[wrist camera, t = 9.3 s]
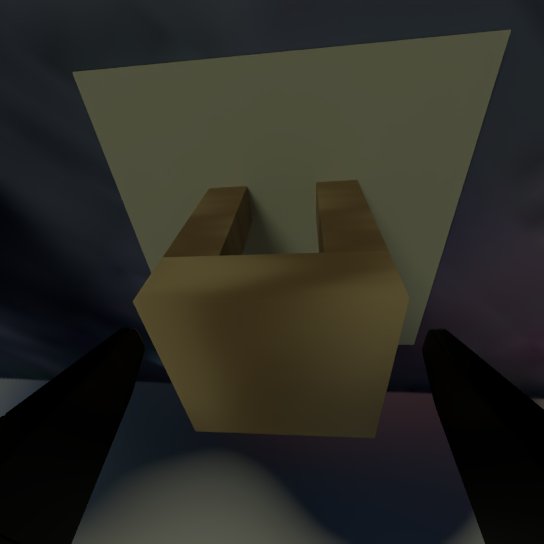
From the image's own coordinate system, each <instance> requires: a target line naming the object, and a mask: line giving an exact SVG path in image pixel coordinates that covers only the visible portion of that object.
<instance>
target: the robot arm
mask: <svg viewBox="0 0 544 544" xmlns="http://www.w3.org/2000/svg"><path fill="white" fill-rule="evenodd" d="M144 351H145V346H144V342H143V340H142V338H141V336H140V334H139V332H138V330H137V329H136V328H121V329H120V330H118V331H117V332H116V333H114V334H113V335H112V336H110V337H109V338H107V339H106V340H105V341H103V342H102V343H101V344H99V345H98V346H97V347H95V348H94V349H93V350H91V351H90V352H88V353H87V354H86V355H84V356H83V357H82V358H80V359H79V360H78V361H76V362H75V363H74V364H72V365H71V366H70V367H68V368H67V369H65V370H64V371H63V372H61V373H60V374H59V375H57V376H56V377H55V378H53V379H52V380H51V381H49V382H48V383H47V384H45V385H44V386H42V387H41V388H40V389H38V390H37V391H36V392H34V393H33V394H32V395H30V396H29V397H27V398H26V399H25V400H24V401H22V402H21V403H19V404H18V405H17V406H15V407H14V408H13V409H11V410H10V411H9V412H7V413H6V414H5V416H2V417H0V544H72V541H73V539H74V536H75V534H76V531H77V529H78V526H79V524H80V521H81V519H82V516H83V514H84V511H85V509H86V507H87V504H88V501H89V499H90V497H91V494H92V492H93V489H94V487H95V484H96V482H97V479H98V477H99V474H100V472H101V470H102V467H103V464H104V462H105V459H106V457H107V455H108V452H109V450H110V447H111V445H112V442H113V440H114V438H115V435H116V433H117V430H118V428H119V425H120V423H121V420H122V418H123V415H124V413H125V410H126V408H127V405H128V403H129V400H130V397H131V395H132V392H133V389H134V385H135V382H136V379H137V375H138V372H139V368H140V365H141V361H142V358H143V354H144ZM422 353H423V358H424V362H425V366H426V370H427V375H428V379H429V383H430V387H431V391H432V395H433V399H434V402H435V406H436V409H437V412H438V415H439V418H440V421H441V423H442V426H443V429H444V432H445V434H446V437H447V440H448V443H449V445H450V448H451V451H452V454H453V456H454V459H455V462H456V465H457V467H458V470H459V473H460V475H461V478H462V481H463V484H464V487H465V489H466V492H467V495H468V498H469V500H470V503H471V506H472V509H473V511H474V514H475V517H476V519H477V522H478V525H479V528H480V530H481V533H482V536H483V539H484V542H485V544H544V409H542V408H541V407H540V406H539V405H538V404H536V403H535V402H534V401H533V400H531V399H530V398H529V397H528V396H527V395H525V394H524V393H523V392H522V391H520V390H519V389H518V388H517V387H516V386H514V385H513V384H512V383H511V382H510V381H508V380H507V379H506V378H505V377H503V376H502V375H501V374H500V373H499V372H497V371H496V370H495V369H494V368H492V367H491V366H490V365H489V364H488V363H486V362H485V361H484V360H483V359H481V358H480V357H479V356H478V355H477V354H475V353H474V352H473V351H472V350H471V349H469V348H468V347H467V346H466V345H464V344H463V343H462V342H461V341H460V340H458V339H457V338H456V337H455V336H453V335H452V334H451V333H450V332H449V331H447V330H446V329H429V330H428V332H427V335H426V338H425V341H424V344H423V348H422Z"/></svg>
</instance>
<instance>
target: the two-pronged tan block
mask: <svg viewBox="0 0 544 544" xmlns="http://www.w3.org/2000/svg"><path fill="white" fill-rule="evenodd" d="M251 223H252V218H251V211H250V204H249V197H248V189H247V186H239V187H222V188H209V189H208V191H207V192H206V194H205V195H204V197H203V198H202V200H201V201H200V203H199V204H198V205H197V207H196V208H195V210H194V211H193V213H192V214H191V216H190V217H189V219H188V220H187V222H186V223H185V225H184V226H183V228H182V229H181V231H180V232H179V234H178V235H177V237H176V238H175V240H174V241H173V242H172V244H171V245H170V247H169V248H168V250H167V251H166V253H165V254H164V256H163V257H162V259H161V260H160V262H159V263H158V265H157V266H156V268H155V269H154V271H153V272H152V274H151V275H150V277H149V278H148V279H147V281H146V282H145V284H144V285H143V287H142V288H141V290H140V291H139V293H138V294H137V296H136V297H135V299H134V300H133V303H134V305H135V307H136V309H137V311H138V313H139V315H140V318H141V320H142V322H143V324H144V326H145V328H146V330H147V332H148V334H149V336H150V338H151V340H152V342H153V344H154V346H155V349H156V351H157V353H158V355H159V357H160V359H161V361H162V363H163V365H164V367H165V369H166V371H167V373H168V375H169V377H170V380H171V382H172V384H173V386H174V388H175V390H176V392H177V394H178V396H179V398H180V400H181V402H182V404H183V406H184V409H185V411H186V413H187V415H188V417H189V419H190V421H191V423H192V425H193V427H194V429H195V431H204V432H232V433H255V434H281V435H307V436H332V437H360V438H375V436H376V431H377V427H378V423H379V419H380V415H381V411H382V407H383V403H384V399H385V395H386V391H387V387H388V383H389V379H390V375H391V371H392V367H393V363H394V359H395V355H396V351H397V347H398V343H399V339H400V335H401V331H402V327H403V323H404V318H405V314H406V310H407V306H408V302H409V295H408V293H407V291H406V289H405V286H404V284H403V282H402V280H401V277H400V275H399V273H398V271H397V268H396V266H395V264H394V262H393V259H392V257H391V255H390V253H389V250H388V248H387V246H386V244H385V241H384V239H383V237H382V235H381V232H380V230H379V228H378V226H377V223H376V221H375V219H374V217H373V214H372V212H371V210H370V208H369V205H368V203H367V201H366V199H365V196H364V194H363V192H362V190H361V187H360V185H359V183H358V180H345V181H328V182H316V224H317V235H318V246H319V253H293V254H260V255H242V254H243V250H244V247H245V244H246V240H247V237H248V233H249V230H250V226H251Z"/></svg>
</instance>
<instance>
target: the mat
mask: <svg viewBox="0 0 544 544" xmlns="http://www.w3.org/2000/svg"><path fill="white" fill-rule="evenodd" d="M510 32H511V30H503V31H492V32H482V33H472V34H461V35H451V36H441V37H430V38H420V39H410V40H399V41H389V42H379V43H368V44H358V45H348V46H338V47H327V48H317V49H307V50H296V51H286V52H276V53H265V54H255V55H245V56H234V57H224V58H214V59H203V60H193V61H183V62H173V63H162V64H152V65H142V66H131V67H121V68H111V69H100V70H90V71H80V72H72V73H73V76H74V78H75V81H76V83H77V86H78V88H79V91H80V93H81V96H82V98H83V101H84V104H85V106H86V109H87V111H88V114H89V116H90V119H91V121H92V124H93V126H94V129H95V131H96V134H97V137H98V139H99V142H100V144H101V147H102V149H103V152H104V154H105V157H106V159H107V162H108V164H109V167H110V170H111V172H112V175H113V177H114V180H115V182H116V185H117V187H118V190H119V192H120V195H121V197H122V200H123V203H124V205H125V208H126V210H127V213H128V215H129V218H130V220H131V223H132V225H133V228H134V230H135V233H136V236H137V238H138V241H139V243H140V246H141V248H142V251H143V253H144V256H145V258H146V261H147V263H148V266H149V268H150V271H151V274H152V272H153V271H154V269H155V268H156V266H157V265H158V263H159V262H160V260H161V259H162V257H163V256H164V254H165V253H166V251H167V250H168V248H169V247H170V245H171V244H172V242H173V241H174V240H175V238H176V237H177V235H178V234H179V232H180V231H181V229H182V228H183V226H184V225H185V223H186V222H187V220H188V219H189V217H190V216H191V214H192V213H193V211H194V210H195V208H196V207H197V205H198V204H199V203H200V201H201V200H202V198H203V197H204V195H205V194H206V192H207V191H208V189H209V188H222V187H239V186H247V189H248V197H249V204H250V211H251V218H252V223H251V226H250V230H249V233H248V237H247V240H246V244H245V247H244V250H243V254H242V255H260V254H293V253H319V246H318V235H317V224H316V182H328V181H345V180H358V183H359V185H360V187H361V190H362V192H363V194H364V196H365V199H366V201H367V203H368V205H369V208H370V210H371V212H372V214H373V217H374V219H375V221H376V223H377V226H378V228H379V230H380V232H381V235H382V237H383V239H384V241H385V244H386V246H387V248H388V250H389V253H390V255H391V257H392V259H393V262H394V264H395V266H396V268H397V271H398V273H399V275H400V277H401V280H402V282H403V284H404V286H405V289H406V291H407V293H408V295H409V302H408V306H407V310H406V314H405V318H404V323H403V327H402V331H401V335H400V339H399V343H398V345H414V343H415V340H416V336H417V333H418V330H419V327H420V323H421V320H422V317H423V314H424V311H425V307H426V304H427V301H428V298H429V294H430V291H431V288H432V285H433V281H434V278H435V275H436V272H437V268H438V265H439V262H440V259H441V255H442V252H443V249H444V246H445V242H446V239H447V236H448V233H449V229H450V226H451V223H452V220H453V217H454V213H455V210H456V207H457V204H458V200H459V197H460V194H461V191H462V187H463V184H464V181H465V178H466V174H467V171H468V168H469V165H470V161H471V158H472V155H473V152H474V148H475V145H476V142H477V139H478V135H479V132H480V129H481V126H482V123H483V119H484V116H485V113H486V110H487V106H488V103H489V100H490V97H491V93H492V90H493V87H494V84H495V80H496V77H497V74H498V71H499V67H500V64H501V61H502V58H503V54H504V51H505V48H506V45H507V41H508V38H509V35H510Z"/></svg>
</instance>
